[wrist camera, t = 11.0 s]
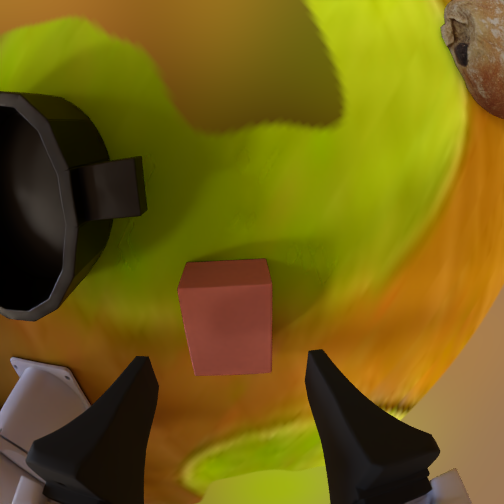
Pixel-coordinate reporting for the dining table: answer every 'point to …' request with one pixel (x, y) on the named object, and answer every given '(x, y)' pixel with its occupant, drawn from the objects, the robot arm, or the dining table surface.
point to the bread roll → (478, 48)
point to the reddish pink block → (227, 316)
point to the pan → (55, 201)
